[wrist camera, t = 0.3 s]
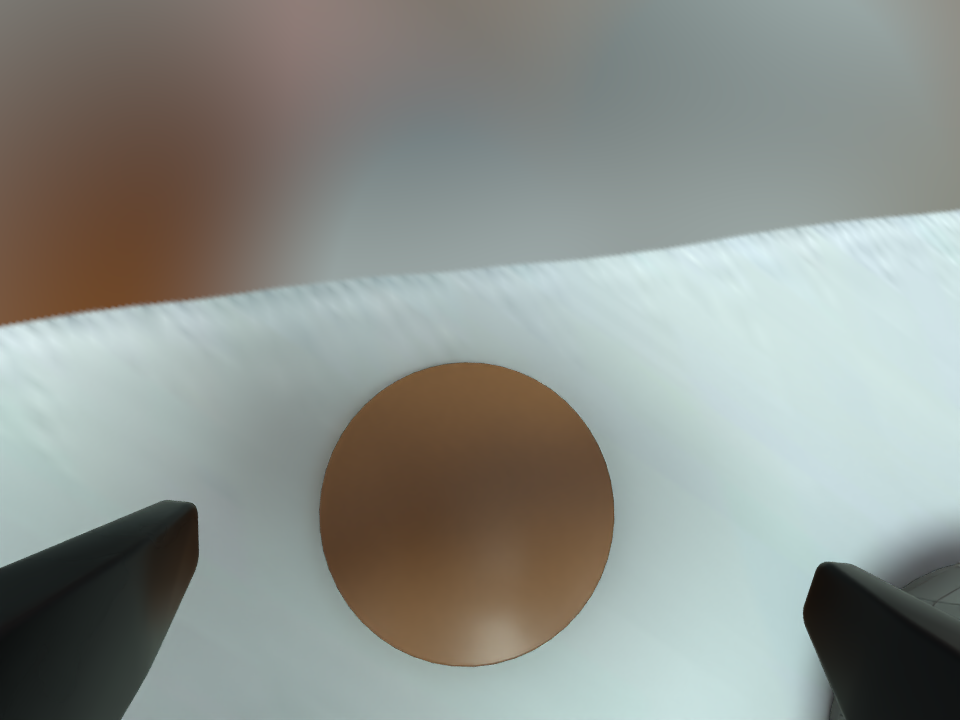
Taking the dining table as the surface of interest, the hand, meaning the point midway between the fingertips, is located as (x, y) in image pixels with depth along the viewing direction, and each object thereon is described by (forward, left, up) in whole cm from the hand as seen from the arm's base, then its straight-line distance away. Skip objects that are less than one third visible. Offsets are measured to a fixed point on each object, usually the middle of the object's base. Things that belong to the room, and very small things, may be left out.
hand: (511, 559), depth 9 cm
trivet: (+1, -1, -15) cm, 15 cm away
